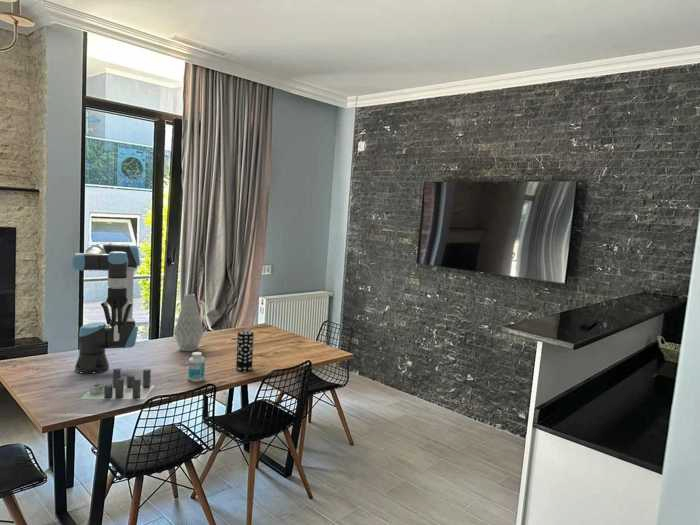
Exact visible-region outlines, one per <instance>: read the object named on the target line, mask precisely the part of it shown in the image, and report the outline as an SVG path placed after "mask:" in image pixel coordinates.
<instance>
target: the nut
mask: <svg viewBox="0 0 700 525" xmlns="http://www.w3.org/2000/svg"><path fill="white" fill-rule="evenodd" d="M104 385H105V383H100V382H98V383H92V384H91V385H89V388H88V389H89V390H88V391H89V393H90V394H94V395H95V394H101V393H103V392H104Z"/></svg>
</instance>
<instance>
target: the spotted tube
mask: <svg viewBox="0 0 700 525" xmlns="http://www.w3.org/2000/svg"><path fill="white" fill-rule="evenodd" d="M236 342H237V343H236V361H235V362H236V365H235V370H236V371H237V372H239V373H249V371H250V372H252V371H253V358H254V357H253V356H254V331H251V330H250V331H249V330H242V331H238V332H237V339H236Z"/></svg>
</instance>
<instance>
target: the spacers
mask: <svg viewBox="0 0 700 525" xmlns="http://www.w3.org/2000/svg"><path fill="white" fill-rule="evenodd" d="M151 371H152V370H151V369H149V368H146V369H145V368H144V369H143V371H142V379H141V378H136V377H135V376H136V375H132V374H129V375H127V376H126V385H127V388H133V391H132V398H133V399H132V400H139V399H138V398H140V392H141V386H143V388H150V386H151V378H152V376H151V375H152V372H151ZM124 380H125V379H124V378H122V369H121V368H114V369H112V384H106V385H105V384H104V385H105V386H104V398H105V399H104V400H110V399H109V398H112V394H113V388H115V398H116V399H115V400H122V399H121V398H123V393H124ZM141 383H142V385H141Z"/></svg>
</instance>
